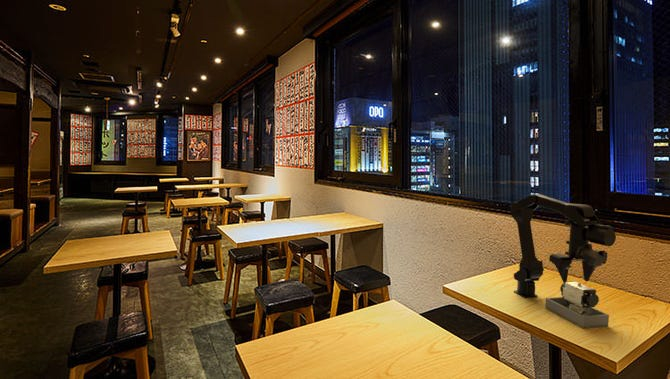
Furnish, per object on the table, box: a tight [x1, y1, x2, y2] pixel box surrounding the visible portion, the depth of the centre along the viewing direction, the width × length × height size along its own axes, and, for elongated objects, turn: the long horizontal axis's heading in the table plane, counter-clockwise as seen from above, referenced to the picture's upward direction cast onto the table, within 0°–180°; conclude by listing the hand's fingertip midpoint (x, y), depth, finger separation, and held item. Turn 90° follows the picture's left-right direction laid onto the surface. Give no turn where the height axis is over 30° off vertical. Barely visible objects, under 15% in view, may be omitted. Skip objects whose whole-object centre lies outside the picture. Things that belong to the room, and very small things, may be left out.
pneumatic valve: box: [559, 280, 600, 316], centre depth 124 cm, size 6×12×12 cm, turn 11°
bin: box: [544, 296, 610, 329], centre depth 124 cm, size 16×10×4 cm, turn 11°
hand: (575, 281), depth 124 cm, fingers open, 9 cm apart
